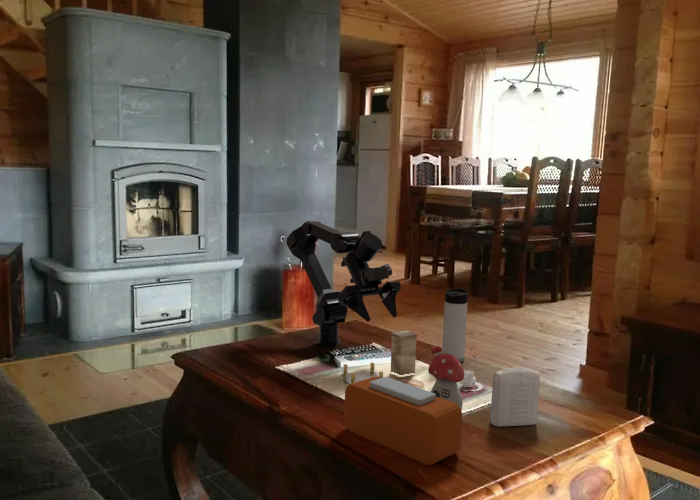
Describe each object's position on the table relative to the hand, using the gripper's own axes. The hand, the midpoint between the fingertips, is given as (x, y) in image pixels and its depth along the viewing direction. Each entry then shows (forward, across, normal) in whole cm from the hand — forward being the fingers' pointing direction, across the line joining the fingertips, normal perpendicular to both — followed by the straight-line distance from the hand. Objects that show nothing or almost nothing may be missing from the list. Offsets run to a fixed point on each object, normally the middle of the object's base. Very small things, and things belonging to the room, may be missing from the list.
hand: (382, 318), depth 179 cm
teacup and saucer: (+27, +11, -10) cm, 31 cm away
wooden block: (+16, 0, +2) cm, 16 cm away
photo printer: (+41, -1, -25) cm, 48 cm away
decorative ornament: (+33, -10, -16) cm, 38 cm away
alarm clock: (+37, -27, -20) cm, 50 cm away
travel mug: (+14, +21, +4) cm, 26 cm away
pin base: (+15, -12, +3) cm, 19 cm away
